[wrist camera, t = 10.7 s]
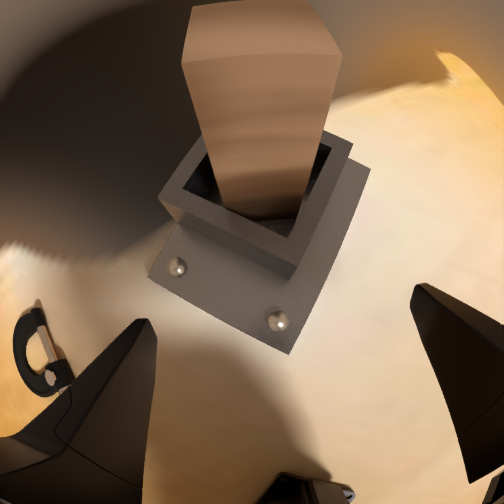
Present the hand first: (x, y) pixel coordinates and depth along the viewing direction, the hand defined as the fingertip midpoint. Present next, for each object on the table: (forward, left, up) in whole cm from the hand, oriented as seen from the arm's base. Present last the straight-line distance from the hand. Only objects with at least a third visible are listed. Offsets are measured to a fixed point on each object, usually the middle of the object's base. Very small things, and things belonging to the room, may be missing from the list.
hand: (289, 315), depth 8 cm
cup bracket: (+5, +3, -9) cm, 11 cm away
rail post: (+6, +4, -8) cm, 11 cm away
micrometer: (-15, +12, -9) cm, 21 cm away
